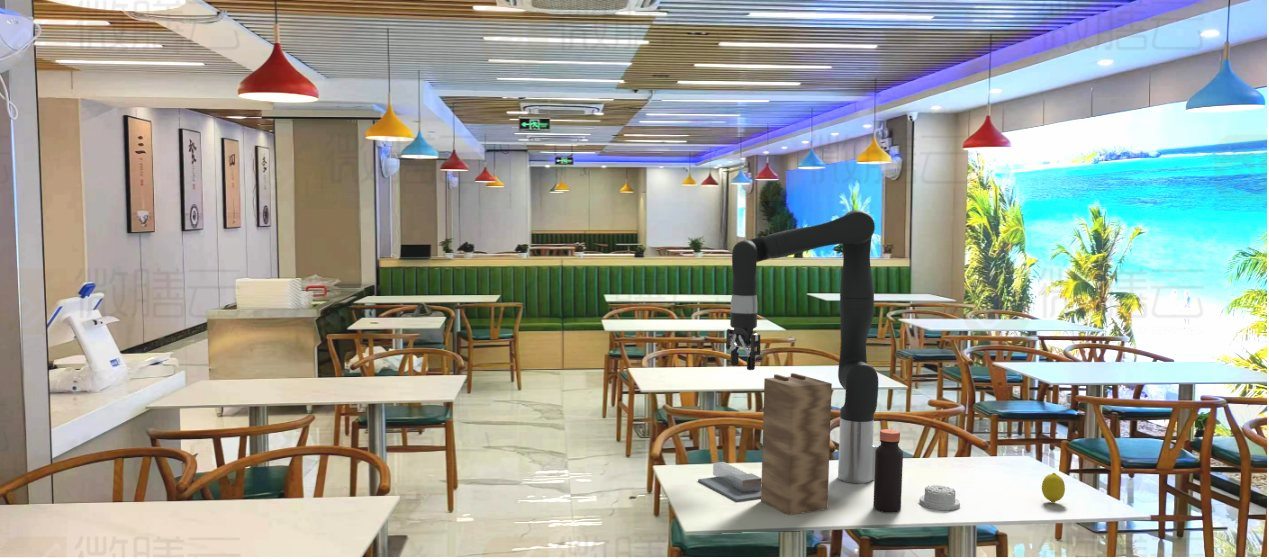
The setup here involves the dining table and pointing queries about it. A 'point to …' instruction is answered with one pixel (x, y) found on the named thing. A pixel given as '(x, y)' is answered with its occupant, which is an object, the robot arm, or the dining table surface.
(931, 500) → the grey cake on plate
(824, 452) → the tall wooden block
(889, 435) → the bottle
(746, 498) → the mat
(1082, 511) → the dining table surface
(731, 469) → the grey block
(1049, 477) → the lemon
